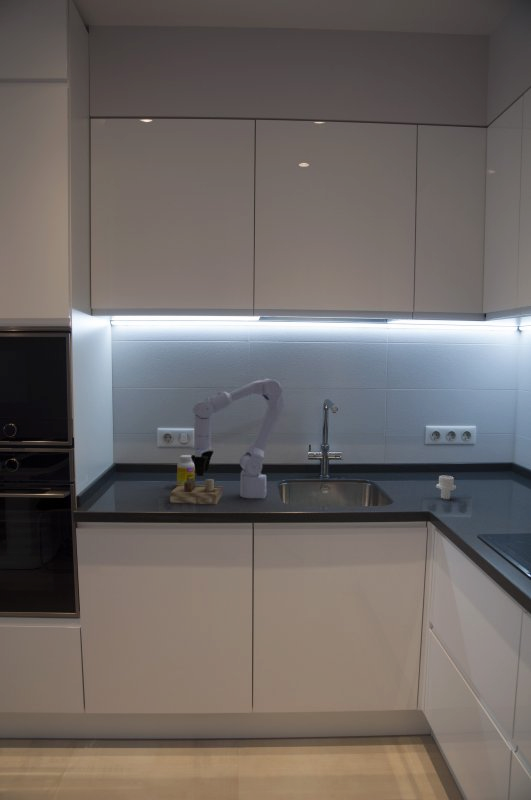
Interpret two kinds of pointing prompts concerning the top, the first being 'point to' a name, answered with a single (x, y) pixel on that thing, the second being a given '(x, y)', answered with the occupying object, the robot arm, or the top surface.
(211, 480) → the pin
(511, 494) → the top surface
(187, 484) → the lid
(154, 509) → the top surface
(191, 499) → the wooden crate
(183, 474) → the supplement bottle
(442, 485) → the pipe fitting
